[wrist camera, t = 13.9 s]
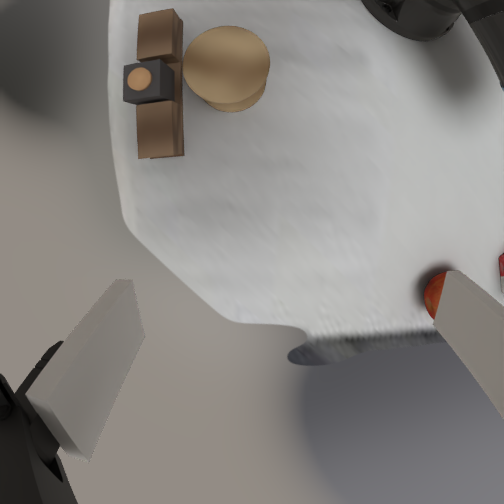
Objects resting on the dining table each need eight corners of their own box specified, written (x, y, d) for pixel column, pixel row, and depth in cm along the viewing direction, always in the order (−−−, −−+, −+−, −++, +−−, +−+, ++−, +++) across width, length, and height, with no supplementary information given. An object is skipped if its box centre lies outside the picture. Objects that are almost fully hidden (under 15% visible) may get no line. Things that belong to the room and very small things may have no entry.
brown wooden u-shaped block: (152, 27, 29) (139, 13, 24) (182, 22, 29) (173, 6, 24) (153, 158, 35) (138, 161, 30) (184, 155, 35) (173, 157, 30)
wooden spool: (198, 53, 30) (183, 30, 22) (265, 50, 30) (268, 24, 22) (199, 114, 33) (182, 105, 25) (266, 111, 33) (271, 101, 25)
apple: (450, 305, 43) (474, 330, 35) (411, 310, 43) (433, 339, 35) (460, 261, 40) (489, 282, 32) (420, 264, 40) (447, 288, 32)
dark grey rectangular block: (143, 106, 31) (120, 100, 25) (143, 76, 30) (120, 64, 24) (174, 102, 31) (157, 94, 25) (174, 71, 30) (157, 57, 24)
